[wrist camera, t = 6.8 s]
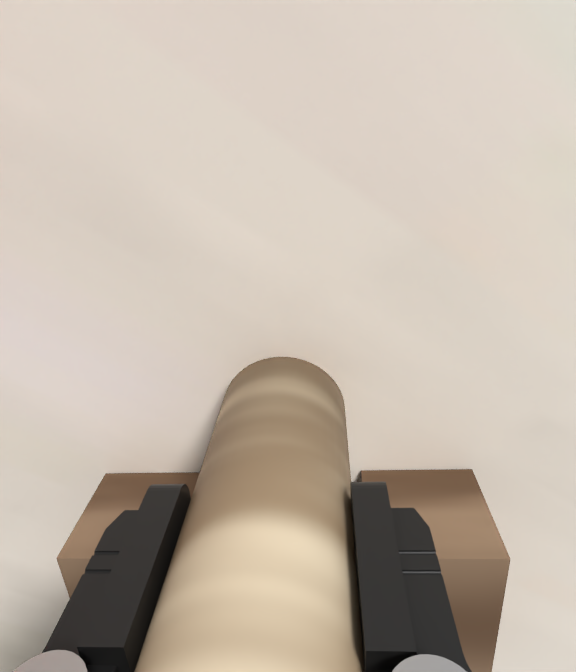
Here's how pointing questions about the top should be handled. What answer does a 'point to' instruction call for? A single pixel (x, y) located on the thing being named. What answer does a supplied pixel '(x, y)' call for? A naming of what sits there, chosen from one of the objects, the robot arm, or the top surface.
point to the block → (404, 492)
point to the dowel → (266, 537)
